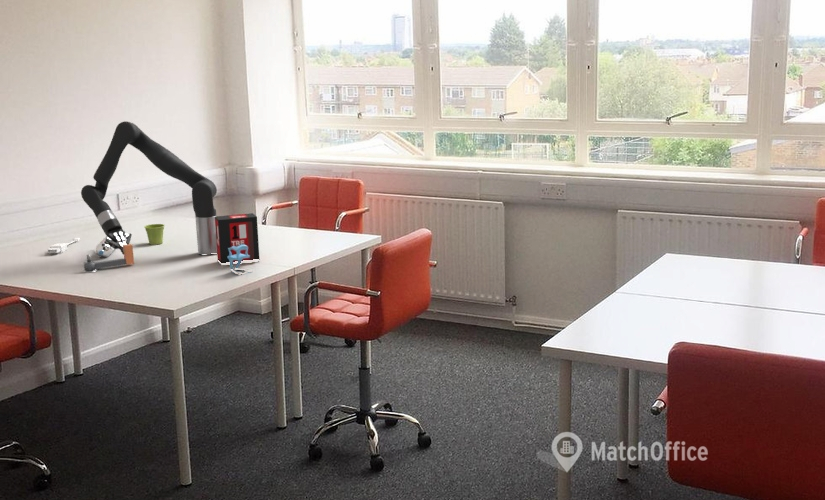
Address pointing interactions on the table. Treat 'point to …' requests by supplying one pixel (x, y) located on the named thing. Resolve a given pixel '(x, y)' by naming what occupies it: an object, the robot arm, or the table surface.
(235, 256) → the chair
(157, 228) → the plant pot
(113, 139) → the robot arm
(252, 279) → the table surface
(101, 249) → the water bottle
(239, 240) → the black and red box
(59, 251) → the charging cable
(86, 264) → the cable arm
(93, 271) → the pivot base
